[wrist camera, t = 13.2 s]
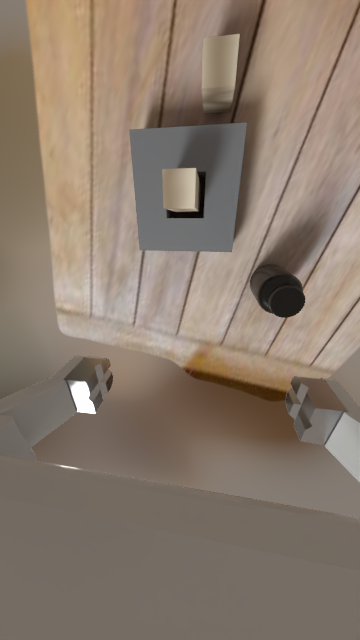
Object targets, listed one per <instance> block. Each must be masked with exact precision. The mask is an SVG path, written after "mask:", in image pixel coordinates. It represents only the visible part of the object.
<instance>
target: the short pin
mask: <svg viewBox="0 0 360 640" xmlns="http://www.w3.org/2000/svg"><path fill="white" fill-rule="evenodd" d="M239 37H240V34H233V35H225V36H217V37H208V38H203V64H202V101H203V114H205V113H219V112H231V107H232V101H233V95H234V89H235V81H236V70H237V59H238V48H239Z"/></svg>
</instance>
